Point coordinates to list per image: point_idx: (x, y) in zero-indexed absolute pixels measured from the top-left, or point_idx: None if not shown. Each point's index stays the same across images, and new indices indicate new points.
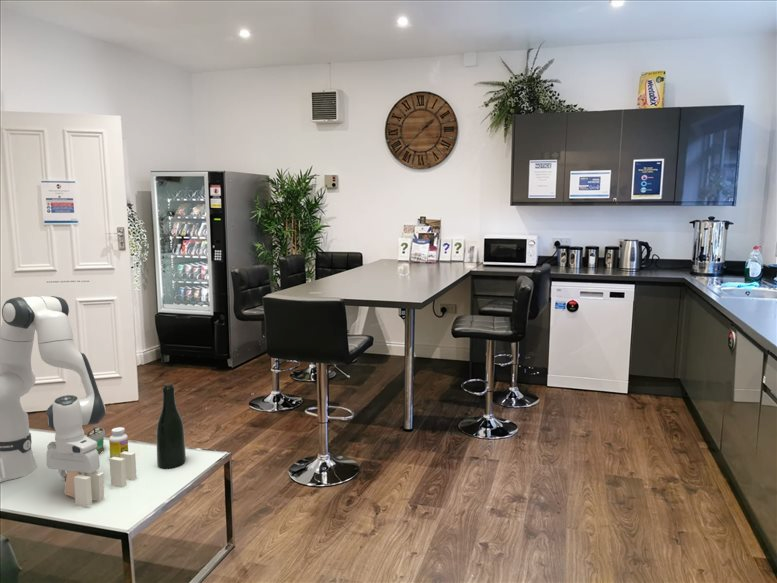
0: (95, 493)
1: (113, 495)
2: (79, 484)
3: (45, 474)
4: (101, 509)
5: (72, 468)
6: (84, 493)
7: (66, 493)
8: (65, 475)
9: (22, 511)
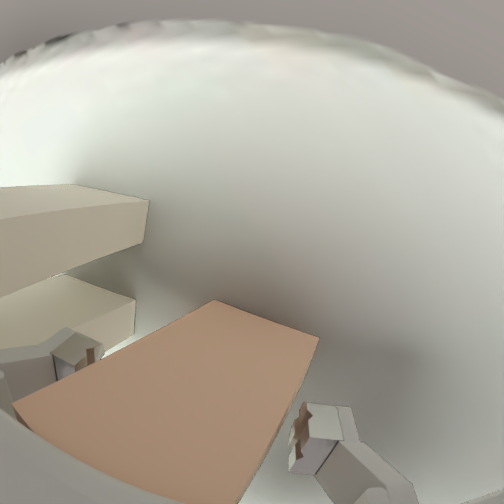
0: (55, 292)
1: None
2: None
3: (486, 468)
4: (20, 183)
5: (18, 477)
6: (14, 189)
7: (297, 333)
8: (324, 468)
9: (463, 98)
